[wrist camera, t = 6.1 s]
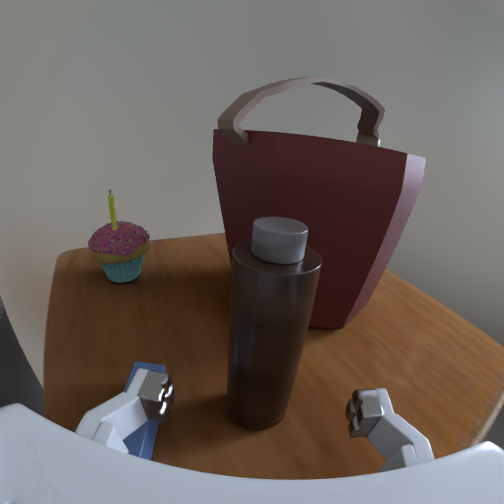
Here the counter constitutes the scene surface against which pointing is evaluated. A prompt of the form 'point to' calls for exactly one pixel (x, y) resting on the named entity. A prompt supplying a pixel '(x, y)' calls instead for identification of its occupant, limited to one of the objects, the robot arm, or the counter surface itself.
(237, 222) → the bucket
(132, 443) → the blue stick
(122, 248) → the cupcake
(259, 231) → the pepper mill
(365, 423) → the robot arm
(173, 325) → the counter surface
